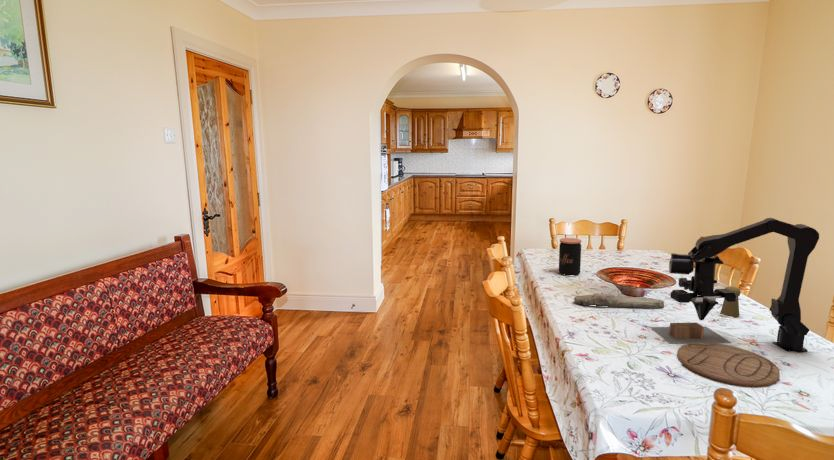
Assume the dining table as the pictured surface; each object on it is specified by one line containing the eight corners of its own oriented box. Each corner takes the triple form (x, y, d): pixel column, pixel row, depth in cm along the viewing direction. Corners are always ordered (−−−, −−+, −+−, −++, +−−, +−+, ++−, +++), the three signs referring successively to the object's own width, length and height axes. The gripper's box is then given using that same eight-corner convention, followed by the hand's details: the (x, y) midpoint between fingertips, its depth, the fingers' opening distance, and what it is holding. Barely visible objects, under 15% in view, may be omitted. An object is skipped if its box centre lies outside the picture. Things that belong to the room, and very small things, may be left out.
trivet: (665, 367, 132) (666, 361, 132) (689, 341, 150) (690, 335, 149) (771, 398, 115) (772, 392, 114) (785, 364, 132) (785, 359, 132)
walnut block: (703, 327, 149) (676, 327, 149) (702, 338, 150) (675, 338, 150) (696, 322, 153) (670, 322, 153) (695, 333, 154) (669, 333, 154)
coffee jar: (554, 272, 234) (555, 239, 231) (569, 270, 238) (570, 237, 235) (568, 277, 224) (570, 242, 221) (584, 274, 229) (586, 240, 225)
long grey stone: (667, 314, 176) (659, 307, 186) (669, 301, 176) (660, 295, 186) (576, 306, 183) (572, 300, 192) (577, 294, 182) (573, 288, 192)
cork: (742, 318, 167) (745, 290, 165) (724, 317, 168) (727, 289, 166) (734, 312, 173) (737, 285, 171) (717, 311, 174) (720, 284, 172)
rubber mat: (731, 344, 146) (732, 343, 145) (669, 344, 146) (669, 343, 146) (706, 327, 159) (706, 326, 159) (649, 328, 160) (649, 327, 160)
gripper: (717, 268, 155) (714, 310, 158) (663, 269, 156) (660, 312, 159) (739, 277, 144) (735, 322, 147) (681, 278, 145) (677, 323, 148)
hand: (701, 319), depth 150 cm, fingers closed
